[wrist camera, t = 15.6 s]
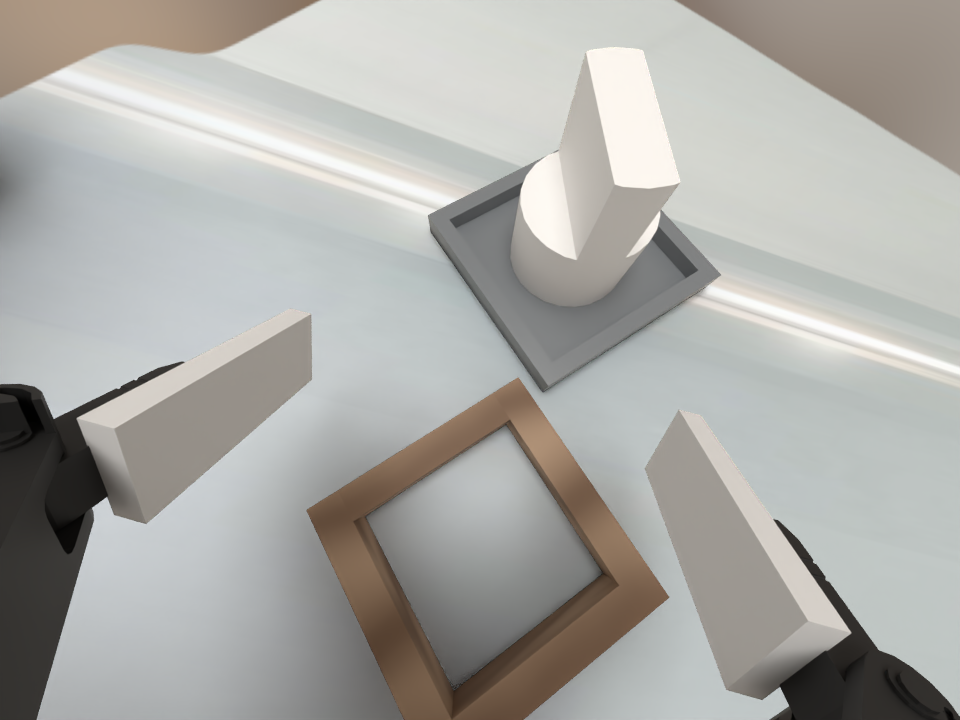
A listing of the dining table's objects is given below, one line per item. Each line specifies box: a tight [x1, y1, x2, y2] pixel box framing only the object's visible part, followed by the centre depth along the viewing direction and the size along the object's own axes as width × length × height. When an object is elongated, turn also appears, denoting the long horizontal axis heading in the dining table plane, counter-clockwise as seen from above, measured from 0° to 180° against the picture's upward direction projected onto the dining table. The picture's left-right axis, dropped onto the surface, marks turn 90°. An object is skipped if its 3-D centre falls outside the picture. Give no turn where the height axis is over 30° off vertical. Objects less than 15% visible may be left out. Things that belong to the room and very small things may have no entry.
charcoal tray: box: [428, 150, 721, 392], centre depth 28 cm, size 16×16×2 cm
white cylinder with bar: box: [510, 47, 680, 307], centre depth 23 cm, size 9×9×12 cm
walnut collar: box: [307, 378, 669, 720], centre depth 22 cm, size 15×15×2 cm
